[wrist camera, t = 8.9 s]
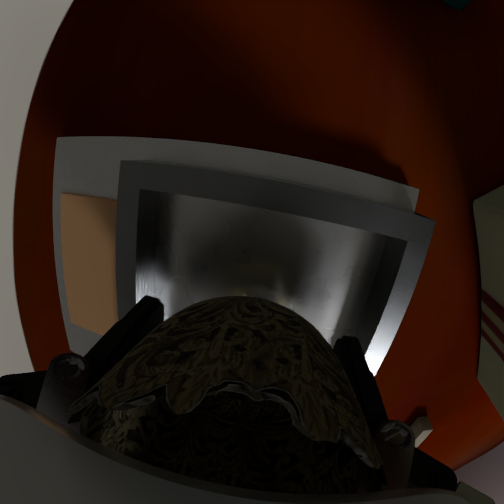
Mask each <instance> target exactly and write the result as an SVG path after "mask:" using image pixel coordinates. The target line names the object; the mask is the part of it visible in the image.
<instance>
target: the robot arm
mask: <svg viewBox="0 0 504 504" xmlns="http://www.w3.org/2000/svg"><path fill="white" fill-rule="evenodd" d="M162 322H164V304H163V303H161V302H160V299H159V298H156V297H152V296H148V295H145V296H144V297H143V298H142V299H141V300H140V301H139V302H138V303H137V304H136V305H135V306H134V307H133V308H132V309H131V310H130V311H129V312H128V313H127V314H126V315H125V316H124V317H123V318H122V319H121V320H120V321H118V322H116V323H115V324H114V325H113V326H112V327H111V328H110V329H109V330H108V331H107V332H106V333H105V334H104V336H103V337H102V338H101V339H100V340H99V341H98V342H97V343H96V344H95V345H94V346H93V347H92V348H91V349H90V350H89V351H88V353H87V354H86V355H85V356H84V357H82V356H80V355H79V354H75V353H64V354H60V355H58V356H56V357H55V358H54V359H52V360H51V362H50V364H49V367H48V370H46V371H38V372H30V373H22V374H10V375H5V376H2V377H0V504H495V502H494V500H493V499H491V498H490V497H488V496H487V495H485V494H483V493H481V492H479V491H478V490H476V489H474V488H472V487H470V486H469V485H467V484H465V483H464V482H462V481H460V482H459V483H457V478H456V475H455V473H454V472H453V470H452V469H450V468H449V467H448V466H446V465H444V464H442V463H441V462H439V461H437V460H436V459H434V458H432V457H431V456H429V455H427V454H426V453H424V452H422V451H421V450H419V449H418V448H416V447H415V434H414V432H413V430H412V429H411V428H410V426H408V425H407V424H406V423H404V422H402V421H399V420H388V417H387V414H386V411H385V408H384V405H383V402H382V399H381V395H380V392H379V389H378V386H377V384H376V381H375V378H374V375H373V373H372V372H371V371H370V370H369V367H368V364H367V362H366V359H365V356H364V353H363V350H362V347H361V345H360V342H359V339H358V338H357V337H352V336H345V335H344V336H342V338H341V339H339V338H338V339H337V340H336V342H335V345H334V347H333V351H334V352H335V354H336V356H337V357H338V359H339V361H340V363H341V365H342V367H343V369H344V371H345V373H346V375H347V377H348V379H349V381H350V383H351V386H352V388H353V390H354V393H355V395H356V397H357V400H358V402H359V404H360V407H361V409H362V412H363V414H364V416H365V419H366V421H367V424H368V427H369V429H370V432H371V434H372V437H373V440H374V442H375V445H376V448H377V450H378V453H379V455H380V457H381V459H382V461H383V464H382V466H383V469H384V472H385V476H386V480H387V489H386V490H384V489H383V488H382V487H381V485H380V483H382V482H383V478H382V476H381V474H380V472H379V469H374V470H375V472H376V475H377V477H378V480H379V481H378V480H377V479H376V478H375V477H374V475H373V474H372V472H371V469H370V467H369V466H368V465H367V464H366V463H364V462H363V461H362V462H361V464H360V467H359V470H358V472H357V475H356V478H355V480H354V483H353V485H352V487H351V490H350V492H349V494H337V492H336V488H335V489H334V491H333V492H332V493H331V494H291V493H278V492H268V491H259V490H252V489H245V488H238V487H233V486H227V485H222V484H217V483H212V482H208V481H204V480H199V479H195V478H192V477H188V476H184V475H181V474H177V473H174V472H171V471H167V470H164V469H161V468H158V467H155V466H152V465H149V464H147V463H144V462H141V461H138V460H136V459H133V458H131V457H128V456H126V455H123V454H121V453H119V452H116V451H114V450H112V449H109V448H107V447H105V446H103V445H101V444H99V443H97V442H95V441H93V440H91V439H89V438H87V437H86V433H87V420H88V418H86V417H85V416H83V415H82V416H81V417H79V418H77V419H76V420H75V421H74V422H72V423H69V424H68V423H67V421H68V419H69V417H70V416H71V415H69V414H68V410H69V408H70V406H71V405H72V404H73V403H74V402H75V401H76V400H78V399H79V398H80V397H82V396H83V395H84V394H85V393H86V392H87V391H89V390H90V389H91V388H92V387H93V386H94V385H95V384H96V383H97V382H98V381H99V380H100V379H101V378H102V377H103V376H104V375H105V374H106V373H107V372H108V371H109V370H110V369H112V368H113V367H114V366H115V365H116V364H117V363H118V362H119V361H120V360H121V359H122V358H123V357H124V356H125V355H126V354H127V353H128V352H129V351H130V350H132V349H133V348H134V347H135V346H136V345H137V344H138V343H139V342H140V341H141V340H142V339H143V338H144V337H146V336H147V335H148V334H149V333H150V332H151V331H152V330H154V329H155V328H156V327H157V326H158V325H160V324H161V323H162ZM87 394H88V393H87ZM87 394H86V395H87ZM86 395H85V396H86ZM85 396H83V397H82V398H81V399H80V400H78V401H77V402H76V403H75V404H74V405H76V404H78V403H79V402H80V401H81V400H82V399H83V398H84V397H85ZM87 407H88V406H86V407H85V408H84V410H85V409H86V408H87ZM84 410H83V411H84ZM342 444H343V442H342V441H341V440H339V441H338V443H333V442H330V441H326V445H325V456H324V460H325V459H327V458H328V457H329V456H331V455H332V454H333V453H334V452H335V451H337V450H338V449H339V447H340V446H341V445H342ZM353 455H354V451H353V450H352V449H351V448H350V447H347V446H346V445H345V444H343V445H342V449H341V452H340V455H339V458H338V465H337V471H338V470H340V469H342V468H343V467H345V466H346V465H347V464H348V463H349V462H350V460H351V459H352V458H353ZM379 482H380V483H379Z"/></svg>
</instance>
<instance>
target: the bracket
mask: <svg viewBox="0 0 504 504" xmlns="http://www.w3.org/2000/svg"><path fill="white" fill-rule="evenodd" d="M442 1H444V2H445V3H447V4H448V5H450V6H451V7H453V8H454V9H456V10H457V11H460V10H461V9H462V8H464V7H465V6H466V5H468V4H469V3H470V2H472V1H473V0H442Z"/></svg>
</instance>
